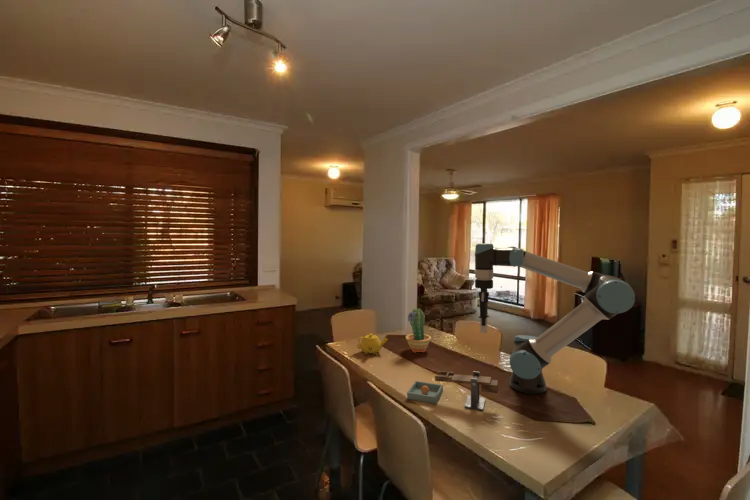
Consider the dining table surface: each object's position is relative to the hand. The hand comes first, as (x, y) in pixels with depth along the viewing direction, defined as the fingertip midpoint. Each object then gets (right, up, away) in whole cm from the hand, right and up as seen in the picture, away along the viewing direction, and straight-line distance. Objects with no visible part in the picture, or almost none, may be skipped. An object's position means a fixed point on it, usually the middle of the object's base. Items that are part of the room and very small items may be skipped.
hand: (483, 332), depth 152 cm
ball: (-26, -25, -2) cm, 36 cm away
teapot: (-49, -25, +52) cm, 76 cm away
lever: (-10, -21, -9) cm, 25 cm away
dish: (-26, -27, -2) cm, 37 cm away
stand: (-7, -27, -10) cm, 30 cm away
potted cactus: (-22, -24, +56) cm, 64 cm away
